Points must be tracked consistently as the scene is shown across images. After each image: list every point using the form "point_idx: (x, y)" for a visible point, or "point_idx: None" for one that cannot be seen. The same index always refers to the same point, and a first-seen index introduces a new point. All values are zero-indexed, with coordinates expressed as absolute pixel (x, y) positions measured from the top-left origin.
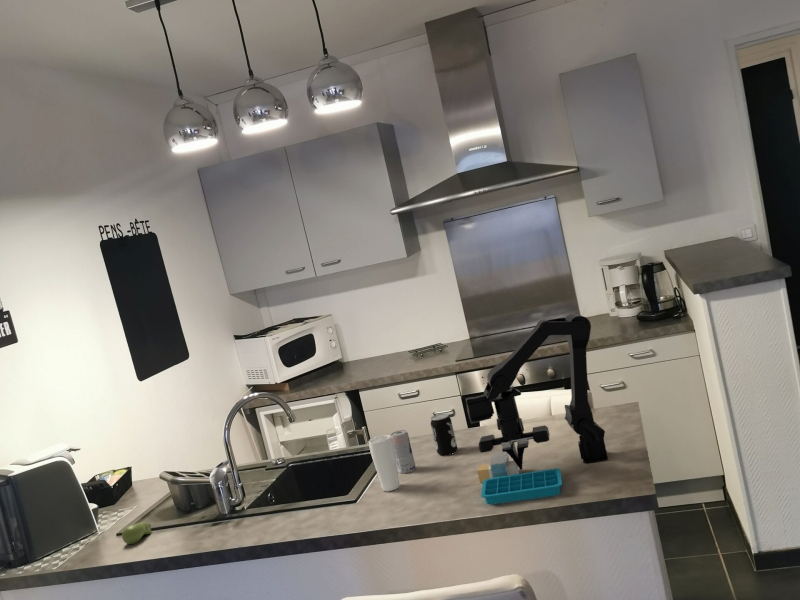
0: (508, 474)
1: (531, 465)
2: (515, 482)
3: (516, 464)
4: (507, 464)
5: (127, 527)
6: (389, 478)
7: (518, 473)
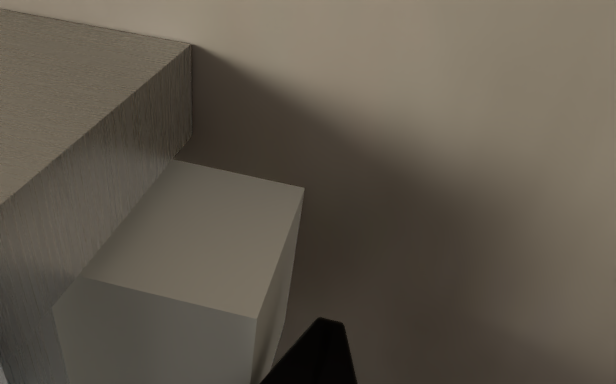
0: None
1: (542, 14)
2: None
3: (256, 371)
4: (115, 374)
5: None
6: None
7: (290, 267)
